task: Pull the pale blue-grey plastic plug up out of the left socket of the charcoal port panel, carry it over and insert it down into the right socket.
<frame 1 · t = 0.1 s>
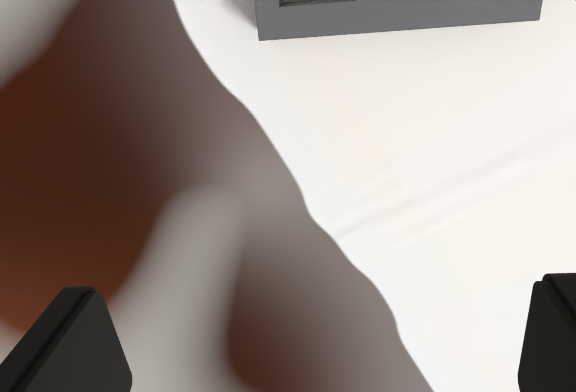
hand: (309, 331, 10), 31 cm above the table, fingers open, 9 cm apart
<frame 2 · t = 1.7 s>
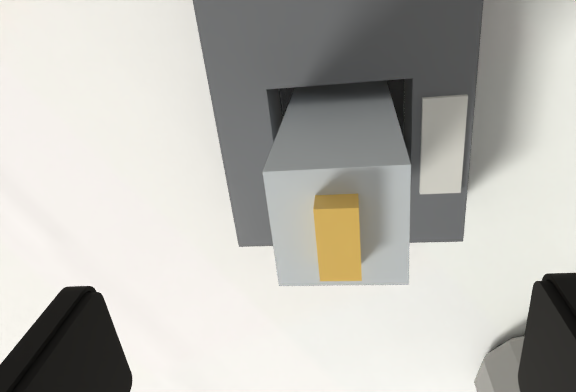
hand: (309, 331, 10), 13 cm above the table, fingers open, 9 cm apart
plug: (342, 126, 21), resting in panel
water bottle: (524, 376, 27), on the table
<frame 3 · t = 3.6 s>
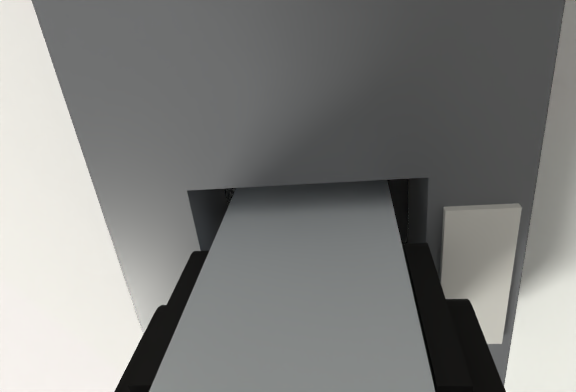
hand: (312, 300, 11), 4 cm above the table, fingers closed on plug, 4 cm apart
plug: (317, 220, 14), resting in panel, touching gripper
panel: (301, 36, 12), on the table
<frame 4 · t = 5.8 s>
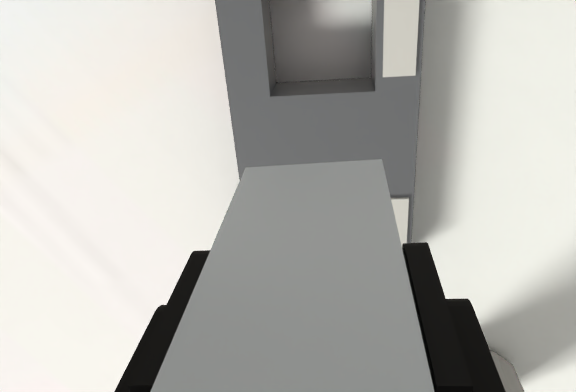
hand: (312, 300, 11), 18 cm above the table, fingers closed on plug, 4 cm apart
plug: (317, 221, 14), point 14 cm above the table, touching gripper
panel: (324, 125, 28), on the table
water bottle: (459, 379, 37), on the table
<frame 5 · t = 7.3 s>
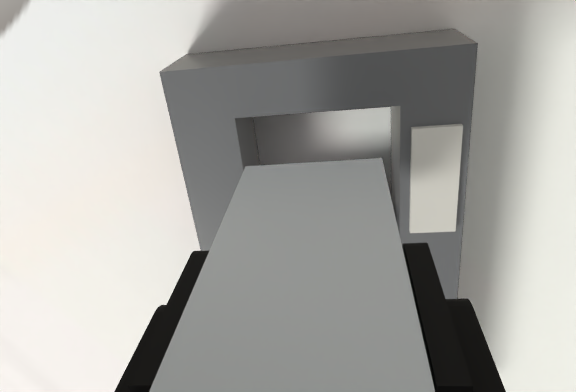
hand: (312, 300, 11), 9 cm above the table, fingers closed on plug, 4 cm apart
plug: (317, 220, 14), point 5 cm above the table, touching gripper
panel: (331, 262, 22), on the table
when the fingers open (5 cm above the table, at t = 8.4 s): plug drops 2 cm, resting in panel.
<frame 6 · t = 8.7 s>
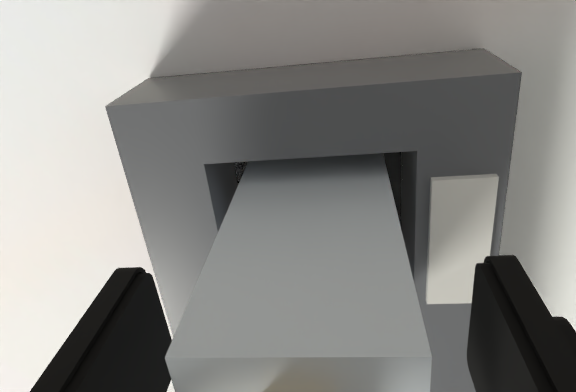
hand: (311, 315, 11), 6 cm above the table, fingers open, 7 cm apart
plug: (320, 196, 16), resting in panel
panel: (329, 319, 18), on the table
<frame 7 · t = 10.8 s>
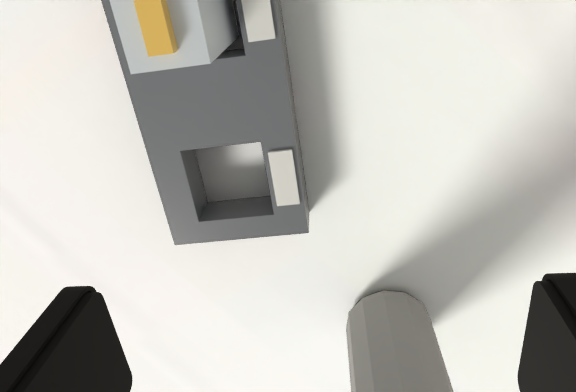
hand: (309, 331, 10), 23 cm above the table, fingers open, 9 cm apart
plug: (202, 7, 29), resting in panel
panel: (219, 93, 32), on the table
water bottle: (381, 323, 40), on the table
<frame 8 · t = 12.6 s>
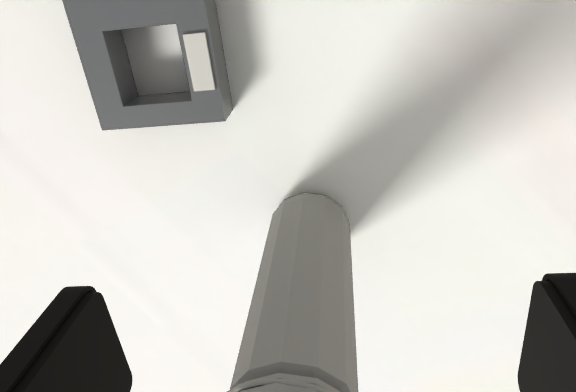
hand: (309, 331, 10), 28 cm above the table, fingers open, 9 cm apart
water bottle: (306, 230, 42), on the table
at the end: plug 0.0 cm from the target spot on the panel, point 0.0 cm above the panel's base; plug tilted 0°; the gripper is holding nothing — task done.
